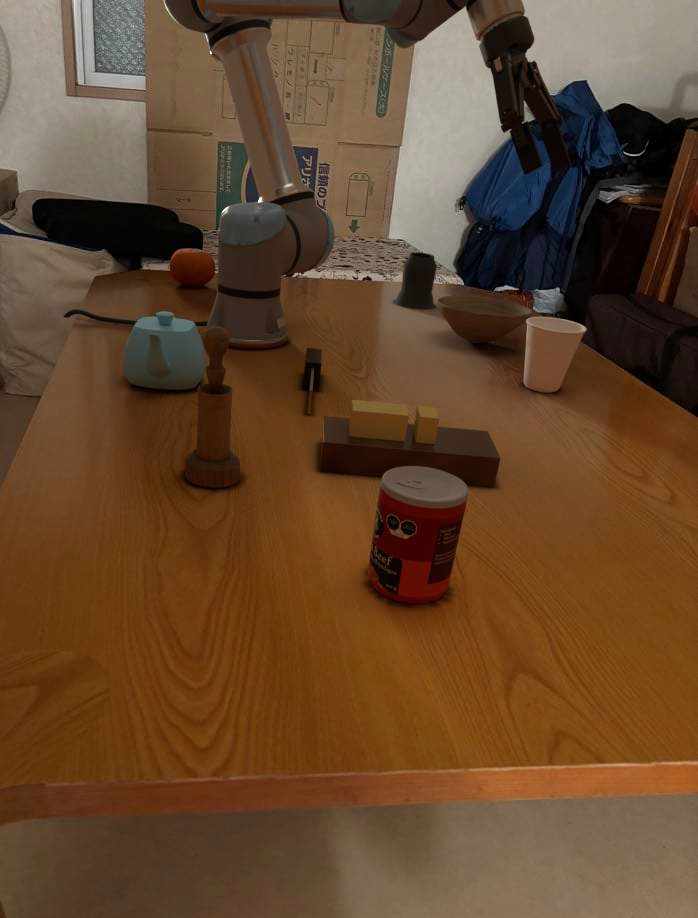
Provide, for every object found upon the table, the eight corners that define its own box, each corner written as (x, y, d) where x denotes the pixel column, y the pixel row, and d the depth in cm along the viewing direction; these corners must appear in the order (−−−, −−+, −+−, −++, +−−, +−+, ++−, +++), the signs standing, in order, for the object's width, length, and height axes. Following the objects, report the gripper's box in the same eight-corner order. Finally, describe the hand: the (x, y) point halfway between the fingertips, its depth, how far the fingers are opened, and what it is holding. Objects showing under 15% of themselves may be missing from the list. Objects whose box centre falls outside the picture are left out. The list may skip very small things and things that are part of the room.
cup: (572, 400, 130) (590, 335, 125) (513, 392, 131) (528, 327, 126) (566, 382, 139) (583, 321, 133) (510, 375, 140) (524, 313, 134)
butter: (349, 436, 98) (352, 410, 96) (348, 425, 101) (352, 399, 99) (404, 441, 98) (408, 415, 96) (402, 429, 101) (406, 404, 99)
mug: (434, 310, 180) (443, 260, 174) (395, 306, 180) (402, 256, 175) (431, 299, 190) (439, 251, 185) (394, 295, 191) (401, 247, 185)
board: (319, 471, 97) (323, 441, 95) (321, 443, 105) (324, 415, 103) (494, 487, 97) (500, 458, 95) (482, 458, 105) (488, 431, 103)
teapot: (107, 326, 108) (134, 297, 124) (110, 399, 113) (135, 362, 129) (197, 334, 108) (212, 304, 124) (196, 406, 114) (211, 369, 129)
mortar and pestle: (247, 472, 95) (255, 326, 86) (227, 493, 90) (233, 339, 81) (198, 461, 97) (201, 317, 88) (175, 481, 92) (175, 329, 83)
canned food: (360, 562, 79) (374, 463, 73) (436, 563, 80) (456, 466, 74) (373, 605, 72) (390, 500, 67) (456, 606, 73) (479, 503, 68)
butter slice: (415, 442, 98) (420, 416, 96) (412, 430, 101) (417, 405, 99) (434, 444, 98) (439, 418, 96) (431, 432, 101) (435, 407, 99)
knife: (317, 415, 114) (320, 386, 112) (299, 414, 114) (302, 384, 112) (319, 375, 131) (322, 349, 128) (304, 374, 131) (306, 347, 128)
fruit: (163, 286, 179) (163, 250, 175) (176, 278, 188) (177, 243, 184) (208, 292, 178) (209, 255, 174) (219, 283, 187) (220, 248, 183)
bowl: (465, 326, 169) (472, 289, 165) (540, 348, 158) (549, 308, 154) (413, 337, 157) (419, 297, 153) (490, 362, 146) (499, 319, 142)
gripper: (492, 0, 104) (544, 157, 107) (552, 23, 122) (595, 156, 125) (444, 35, 109) (496, 184, 112) (509, 52, 127) (551, 179, 130)
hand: (548, 169), depth 119 cm, fingers open, 13 cm apart
